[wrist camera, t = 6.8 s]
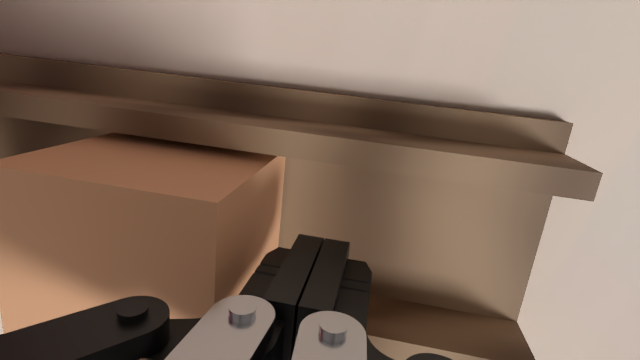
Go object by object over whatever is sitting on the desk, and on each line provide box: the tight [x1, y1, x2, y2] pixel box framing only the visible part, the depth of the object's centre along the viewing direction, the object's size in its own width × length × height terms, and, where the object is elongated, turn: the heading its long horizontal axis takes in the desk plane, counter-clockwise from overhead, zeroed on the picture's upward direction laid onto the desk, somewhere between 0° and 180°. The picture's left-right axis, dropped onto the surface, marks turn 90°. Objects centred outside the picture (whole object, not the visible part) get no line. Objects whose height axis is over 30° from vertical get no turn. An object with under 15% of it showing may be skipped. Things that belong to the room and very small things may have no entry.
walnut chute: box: [0, 54, 603, 360], centre depth 14 cm, size 25×9×6 cm, turn 84°
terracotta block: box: [0, 132, 286, 334], centre depth 13 cm, size 6×5×6 cm
